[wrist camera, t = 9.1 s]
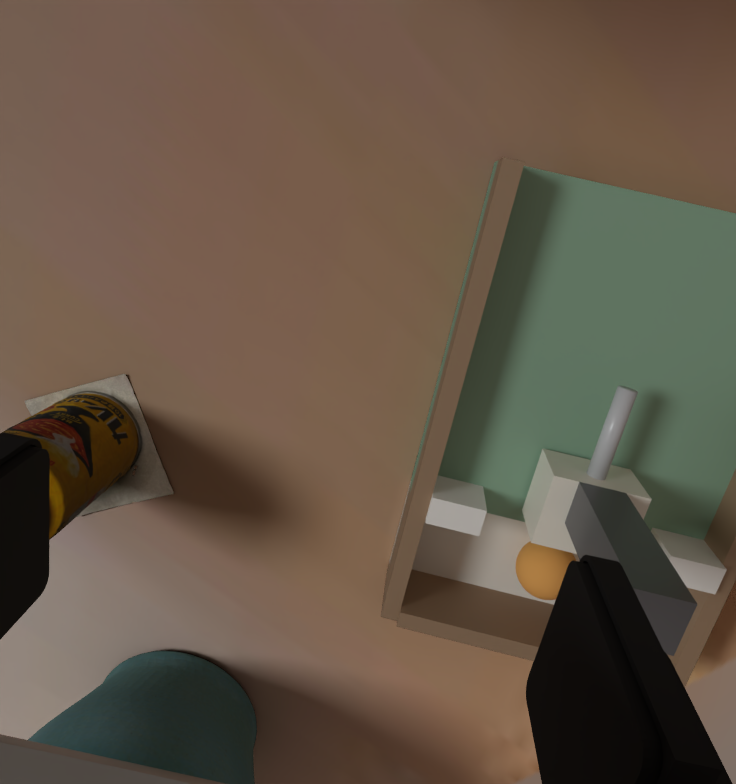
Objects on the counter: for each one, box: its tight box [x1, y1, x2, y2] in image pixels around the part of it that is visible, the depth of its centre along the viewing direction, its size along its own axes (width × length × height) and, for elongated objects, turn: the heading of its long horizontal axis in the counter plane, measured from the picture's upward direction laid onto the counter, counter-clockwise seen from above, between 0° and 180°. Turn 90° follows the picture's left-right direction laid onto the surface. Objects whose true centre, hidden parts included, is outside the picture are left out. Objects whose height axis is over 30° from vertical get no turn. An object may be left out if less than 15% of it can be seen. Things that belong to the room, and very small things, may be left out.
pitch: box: [381, 157, 736, 688], centre depth 34 cm, size 26×18×5 cm
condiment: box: [2, 374, 174, 540], centre depth 35 cm, size 7×8×12 cm
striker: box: [522, 386, 697, 656], centre depth 29 cm, size 9×5×13 cm, turn 168°
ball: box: [516, 541, 576, 600], centre depth 37 cm, size 4×4×4 cm
